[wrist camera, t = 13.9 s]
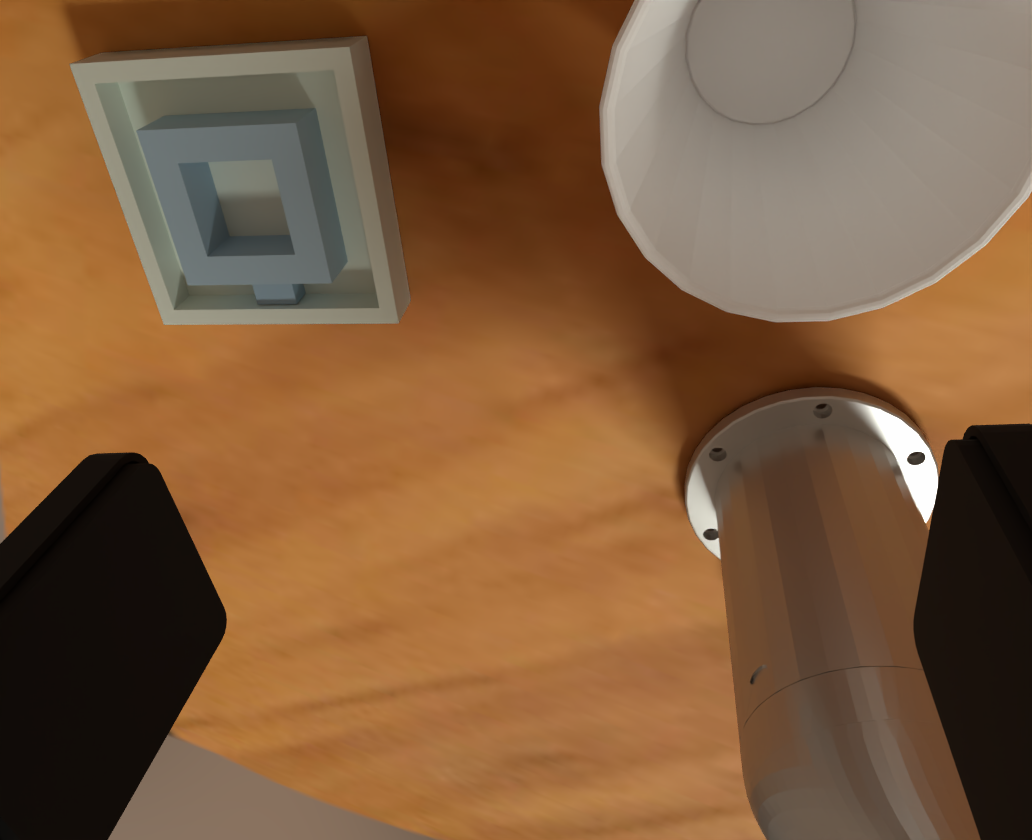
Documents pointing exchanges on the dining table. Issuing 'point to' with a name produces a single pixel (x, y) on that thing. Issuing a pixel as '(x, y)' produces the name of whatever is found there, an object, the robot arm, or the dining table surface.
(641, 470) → the dining table surface
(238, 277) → the blue-grey rectangular frame
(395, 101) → the dining table surface
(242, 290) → the tray
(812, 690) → the robot arm
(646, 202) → the cup
